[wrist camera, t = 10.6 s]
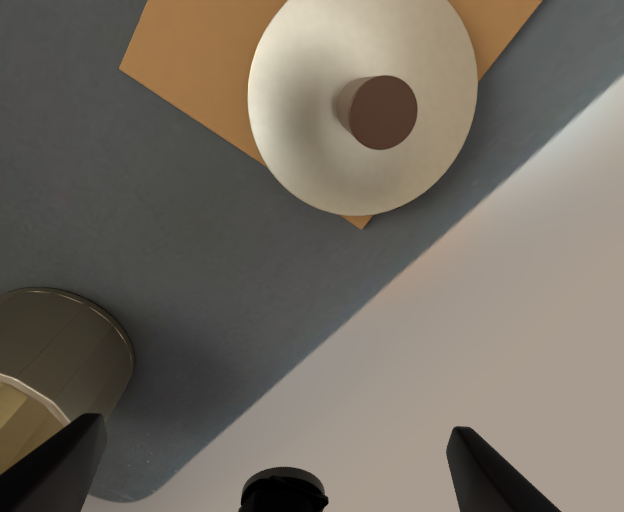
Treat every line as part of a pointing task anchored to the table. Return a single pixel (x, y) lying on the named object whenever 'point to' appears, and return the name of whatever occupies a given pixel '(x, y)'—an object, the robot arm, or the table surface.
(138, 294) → the table surface
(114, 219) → the table surface
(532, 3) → the mat
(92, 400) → the pot
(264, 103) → the lid
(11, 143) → the table surface
